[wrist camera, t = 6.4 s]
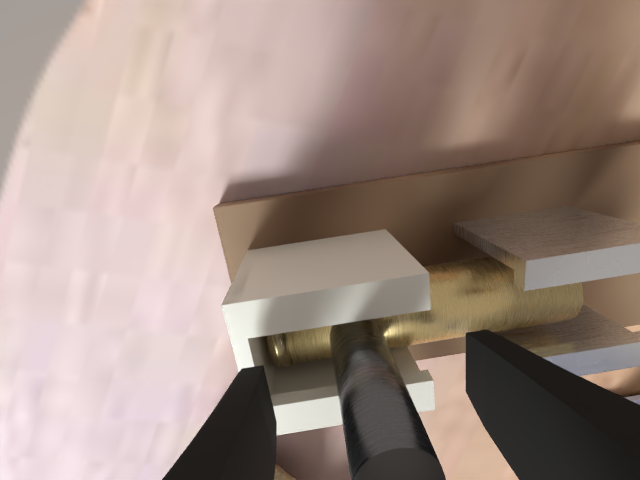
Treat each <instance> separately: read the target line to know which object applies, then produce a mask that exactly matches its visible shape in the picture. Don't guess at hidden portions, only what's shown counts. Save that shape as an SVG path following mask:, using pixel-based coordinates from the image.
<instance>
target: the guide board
mask: <svg viewBox="0 0 640 480" xmlns="http://www.w3.org/2000/svg"><path fill="white" fill-rule="evenodd" d="M213 211H214V215H215V219H216V223H217V227H218V231H219V235H220V239H221V243H222V247H223V251H224V255H225V259H226V264H227V268H228V272H229V276H230V280H231V284H232V282H233V280H234V278H235V276H236V273H237V271H238V269H239V267H240V265H241V263H242V261H243V259H244V256H245V254H246V252H247V250H253V249H259V248H266V247H272V246H279V245H285V244H292V243H298V242H305V241H312V240H318V239H325V238H331V237H338V236H344V235H351V234H357V233H364V232H370V231H377V230H383V229H386V230H387V231H388V232H389V233H390V234H391V235H392V236H393V237H394V238H395V239H396V240H397V241H398V242H399V243H400V244H401V245H402V246H403V247H404V248H405V249H406V250H407V251H408V252H409V253H410V254H411V255H412V256H413V257H414V258H415V259H416V260H417V261H418V262H419V263H420V264H421V265H422V266H423V267H426V266H433V265H439V264H445V263H452V262H458V261H465V260H471V259H478V258H484V257H490V256H492V257H494V258H495V259H497V260H499V261H500V262H502V263H504V264H505V265H507V266H509V267H511V268H512V269H514V270H515V271H514V285H516V286H517V287H519V288H520V289H522V290H523V291H528V290H535V289H541V288H547V287H554V286H560V285H566V284H573V283H579V282H582V286H583V294H584V298H583V305H582V308H581V310H580V312H579V313H578V315H577V316H575V317H574V318H572V319H570V320H565V321H559V322H552V323H546V324H540V325H534V326H527V327H521V328H515V329H509V330H503V331H496V332H494V333H496V334H498V335H500V336H502V337H504V338H506V339H508V340H510V341H512V342H514V343H515V344H517V345H519V346H521V347H523V348H525V349H527V350H529V351H531V352H533V353H535V354H536V355H538V356H540V357H542V358H544V359H546V360H548V361H550V362H552V363H554V364H556V365H558V366H560V367H562V368H564V369H565V370H567V371H569V372H571V373H573V374H575V375H577V376H583V375H589V374H595V373H601V372H607V371H613V370H619V369H625V368H631V367H638V366H640V331H638V332H631V331H629V330H627V329H626V328H624V327H627V326H633V325H640V140H639V141H633V142H626V143H619V144H613V145H606V146H599V147H593V148H586V149H579V150H573V151H566V152H559V153H553V154H546V155H540V156H533V157H526V158H520V159H513V160H506V161H500V162H493V163H486V164H480V165H473V166H466V167H460V168H453V169H446V170H440V171H433V172H426V173H420V174H413V175H406V176H400V177H393V178H386V179H380V180H373V181H366V182H360V183H353V184H346V185H340V186H333V187H326V188H320V189H313V190H306V191H300V192H293V193H286V194H280V195H273V196H266V197H260V198H253V199H246V200H240V201H233V202H226V203H220V204H218V205H216V206H215V207H214V208H213ZM407 347H408V349H409V351H410V353H411V355H412V357H413V359H414V360H415V361H416V360H423V359H429V358H435V357H441V356H447V355H454V354H460V353H466V336H465V337H459V338H453V339H446V340H440V341H434V342H428V343H421V344H415V345H409V346H407Z"/></svg>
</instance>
